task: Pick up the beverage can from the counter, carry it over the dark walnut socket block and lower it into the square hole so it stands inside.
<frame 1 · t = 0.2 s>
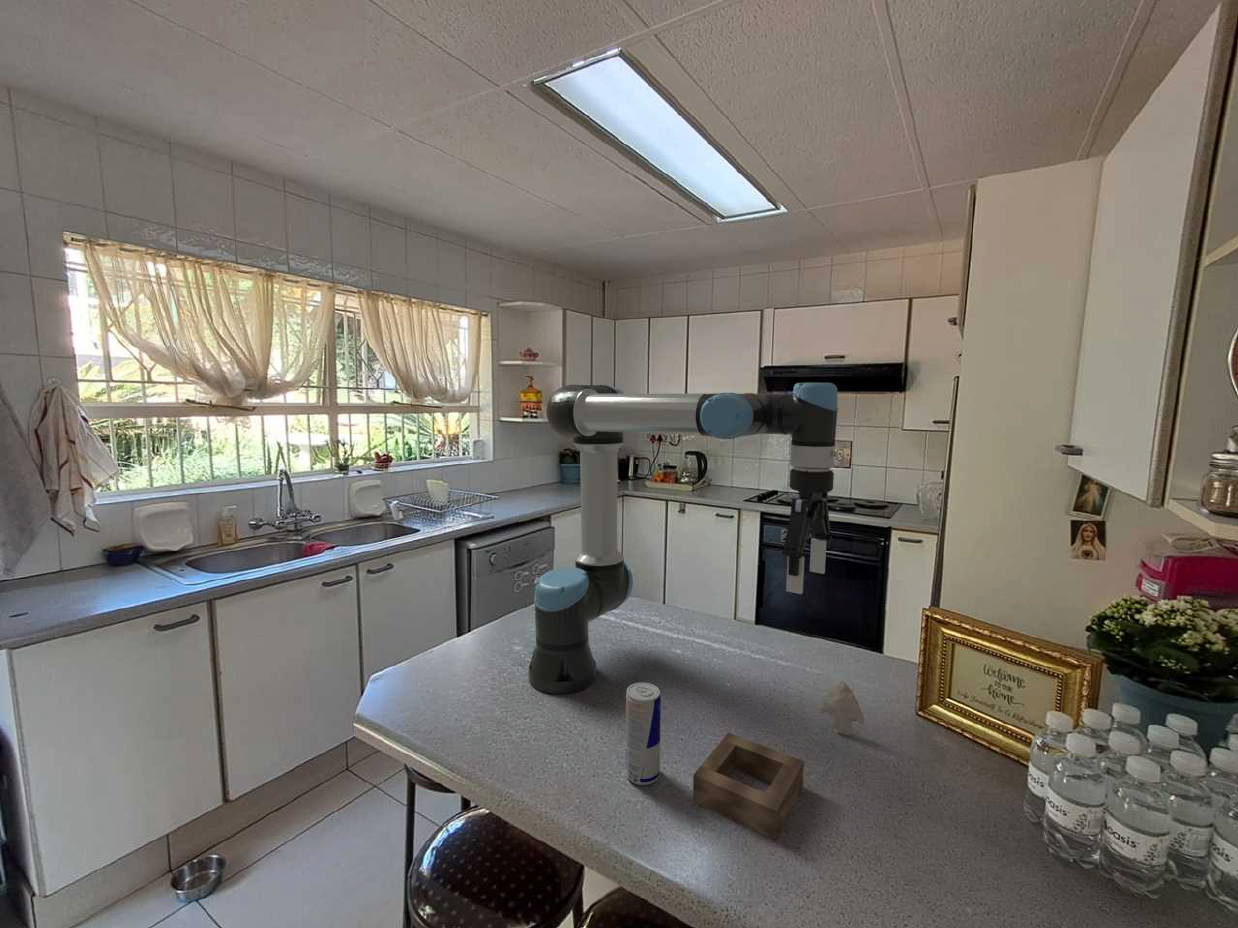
hand: (806, 581, 102), 28 cm above the countertop, fingers open, 13 cm apart
socket: (748, 793, 86), on the countertop
arrowhead: (840, 733, 102), on the countertop
beverage can: (642, 776, 91), on the countertop
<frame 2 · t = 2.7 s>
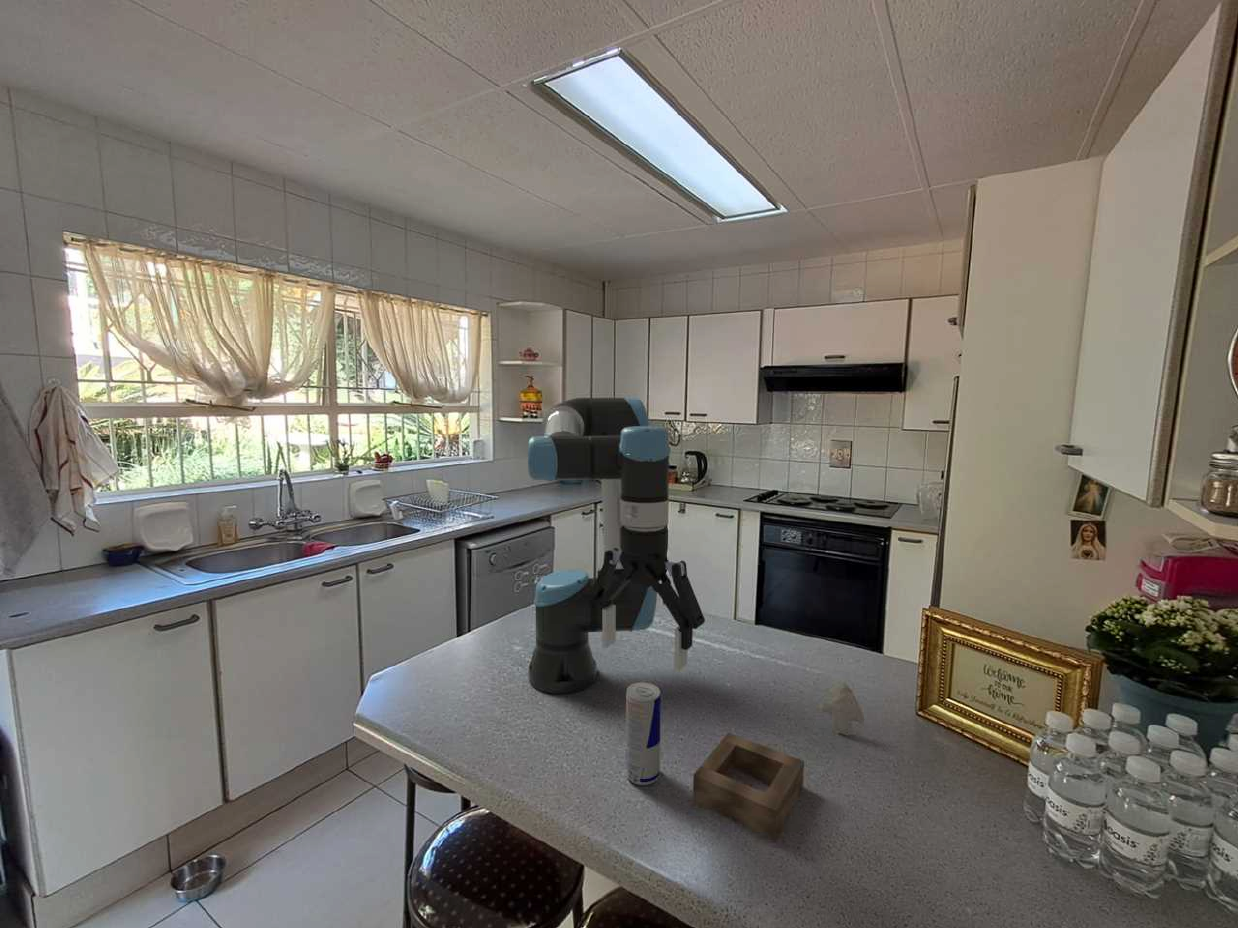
hand: (643, 655, 88), 21 cm above the countertop, fingers open, 13 cm apart
nothing on the countertop moved.
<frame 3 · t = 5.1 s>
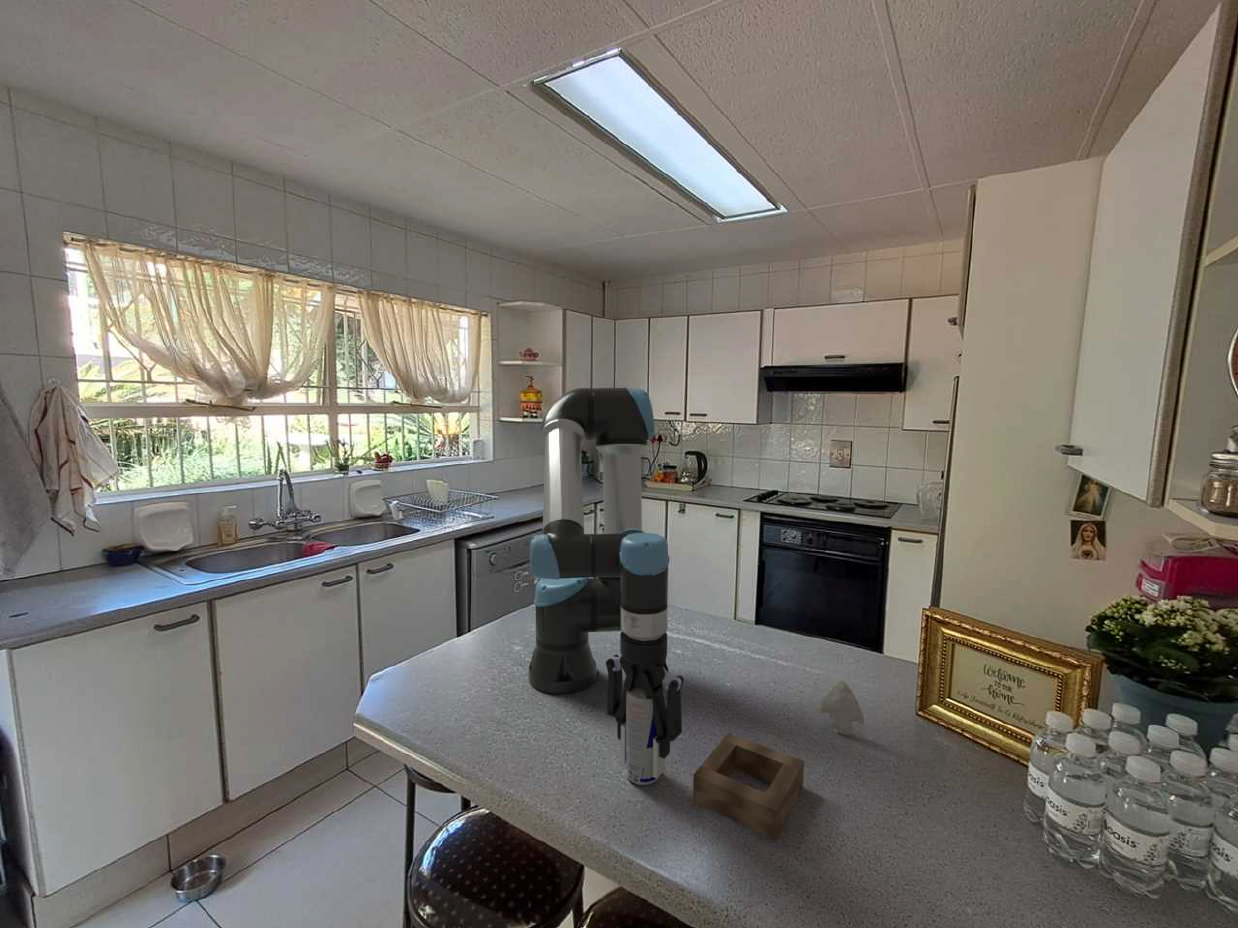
hand: (642, 765, 90), 2 cm above the countertop, fingers closed on beverage can, 5 cm apart
beverage can: (643, 776, 91), on the countertop, touching gripper
everything else where it was.
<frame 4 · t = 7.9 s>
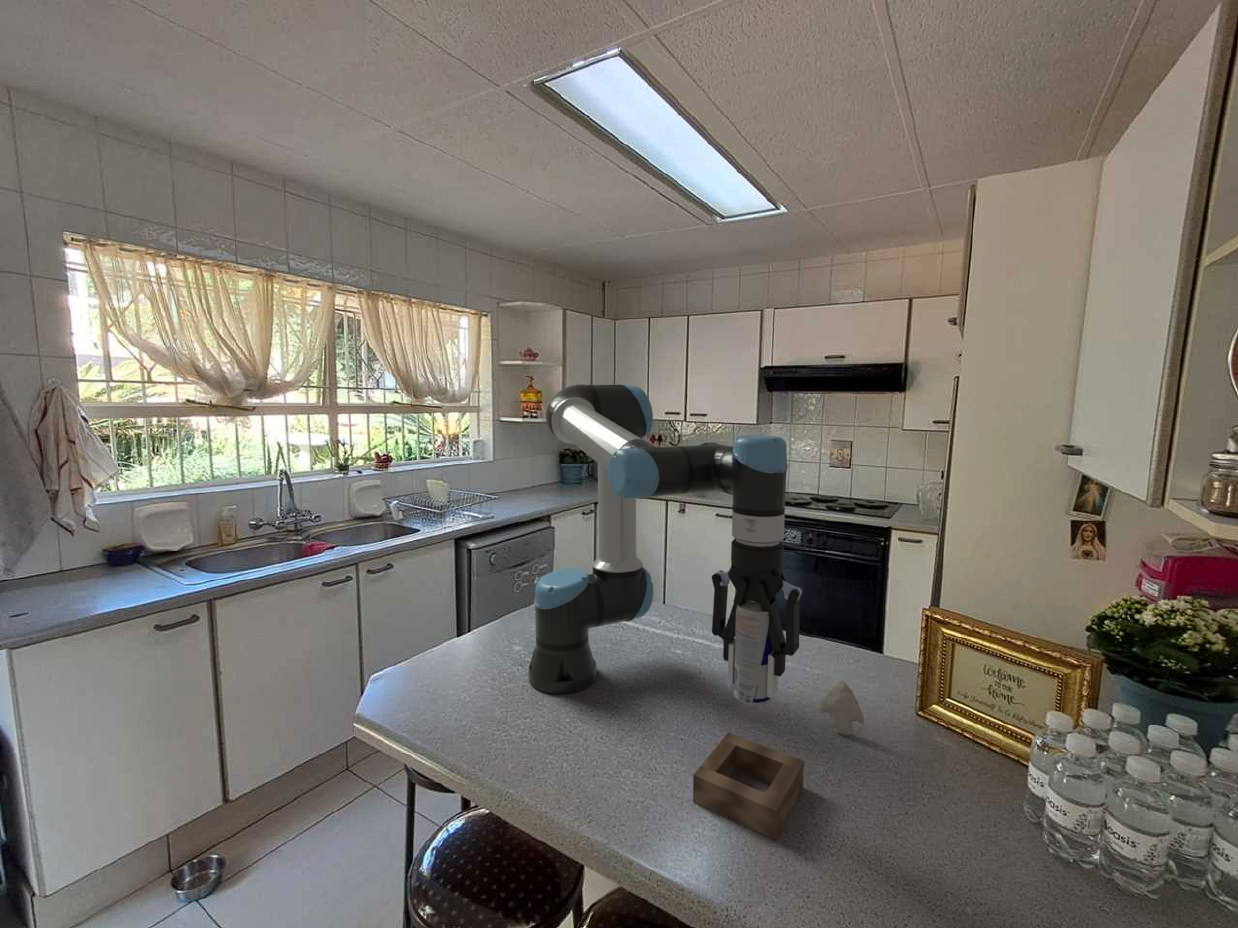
hand: (752, 686, 84), 18 cm above the countertop, fingers closed on beverage can, 5 cm apart
beverage can: (752, 699, 84), point 16 cm above the countertop, touching gripper
everything else where it was.
when the fingers open (5 cm above the countertop, at t = 10.5 s): beverage can drops 3 cm, resting in socket.
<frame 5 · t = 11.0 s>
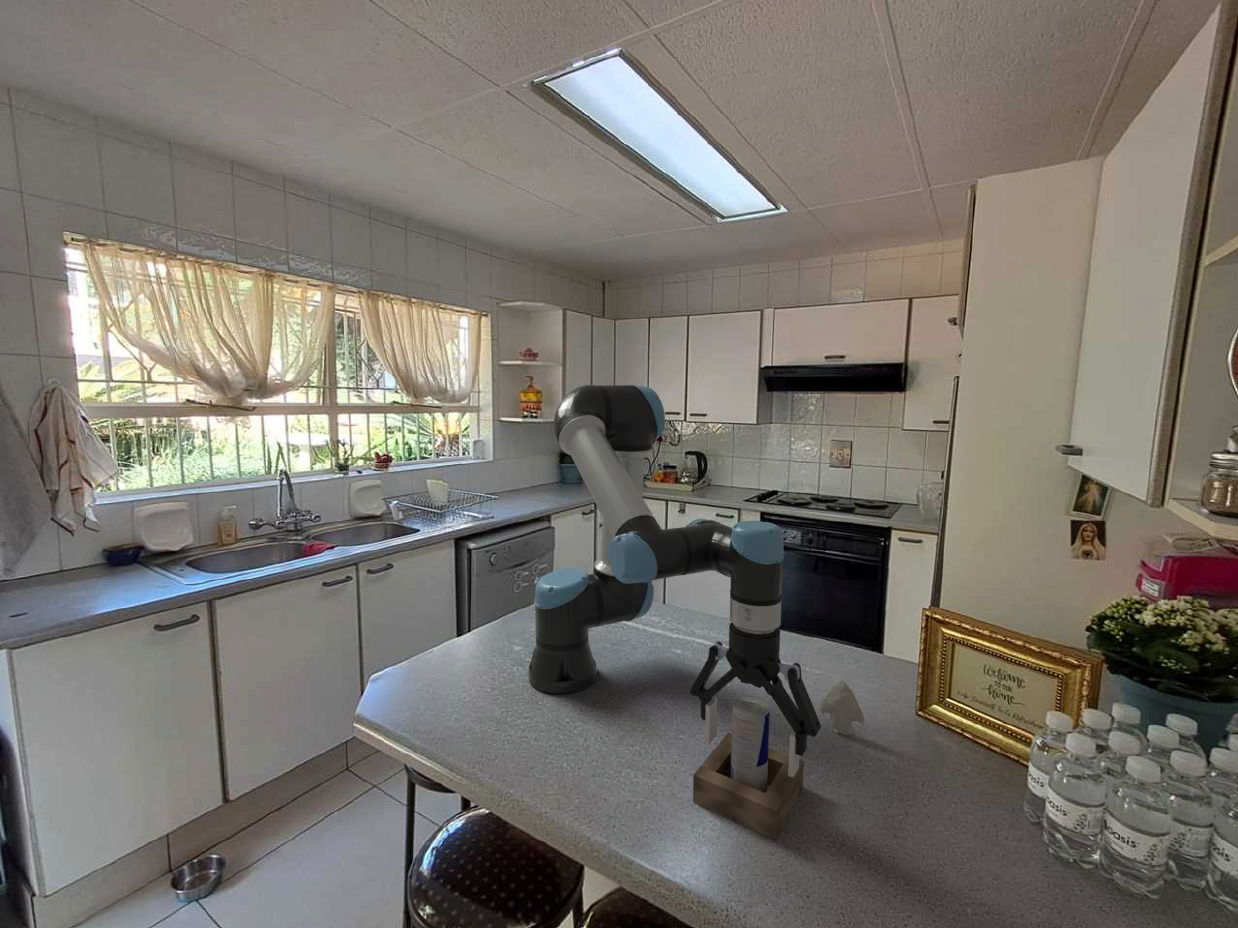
hand: (750, 754, 86), 7 cm above the countertop, fingers open, 13 cm apart
beverage can: (748, 795, 86), resting in socket
everything else where it was.
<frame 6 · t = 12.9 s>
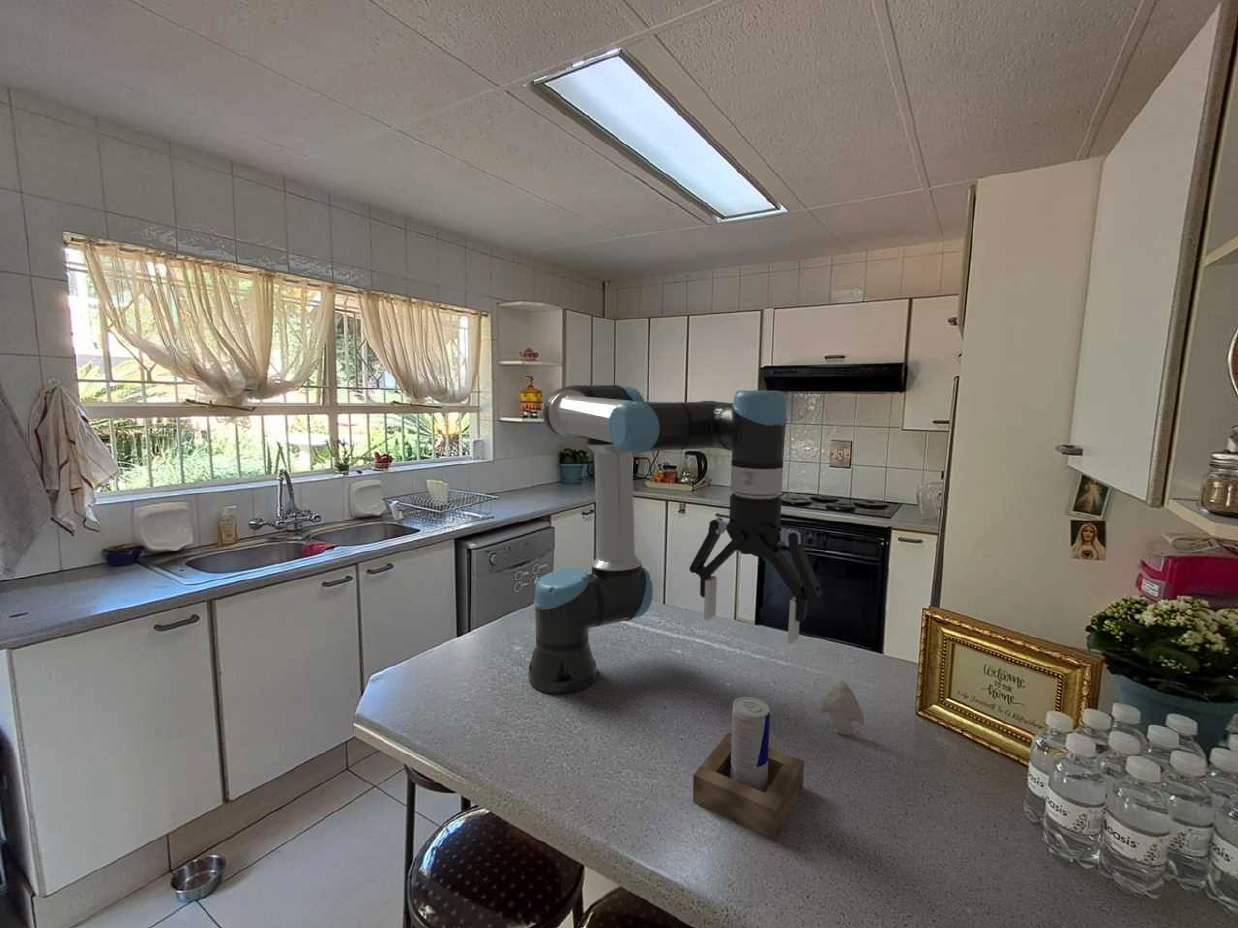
hand: (749, 628, 85), 26 cm above the countertop, fingers open, 13 cm apart
nothing on the countertop moved.
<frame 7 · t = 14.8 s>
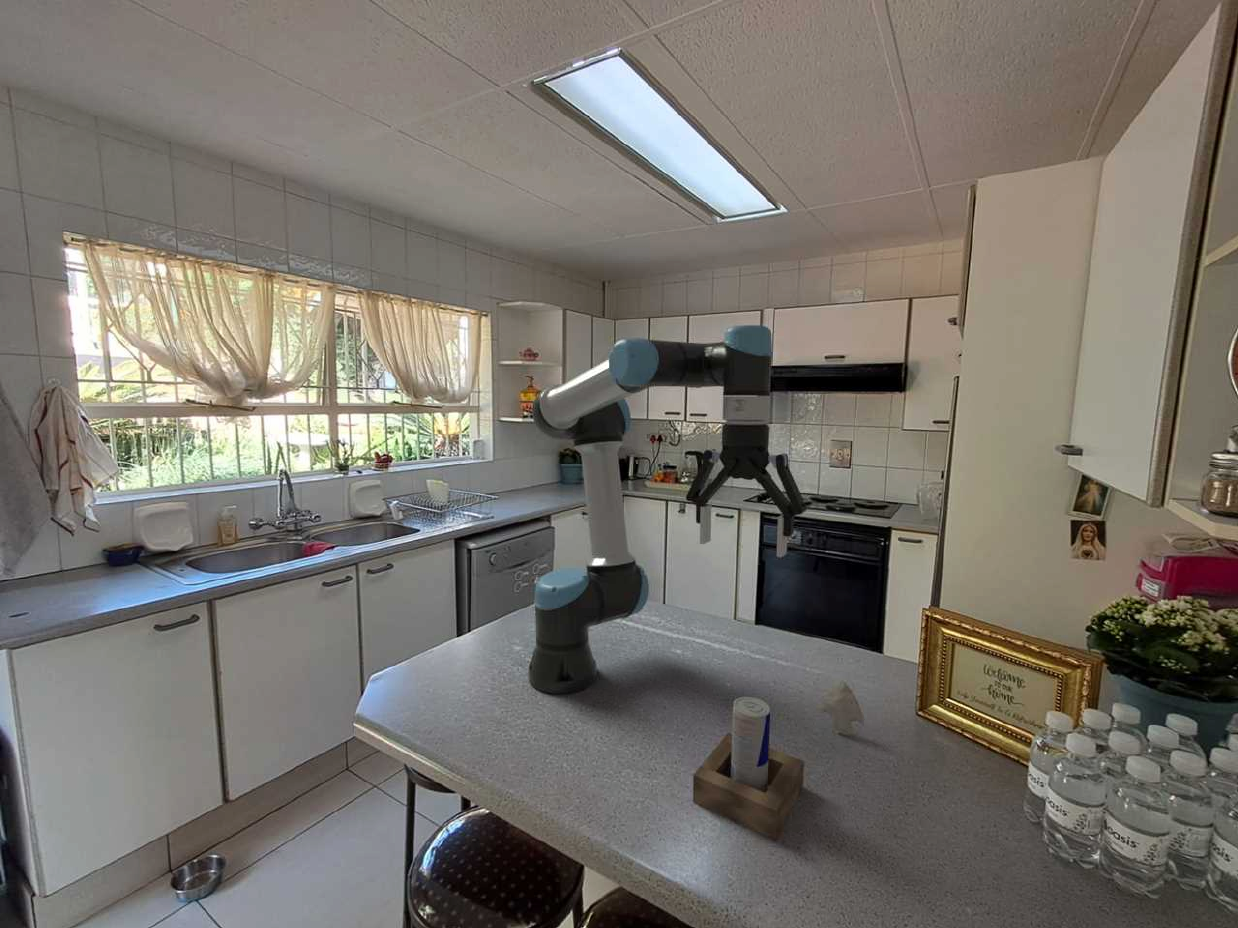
hand: (741, 548, 93), 37 cm above the countertop, fingers open, 13 cm apart
nothing on the countertop moved.
at the end: beverage can 0.2 cm off-centre on the socket, point 0.0 cm above the socket's base; beverage can tilted 0°; the gripper is holding nothing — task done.
